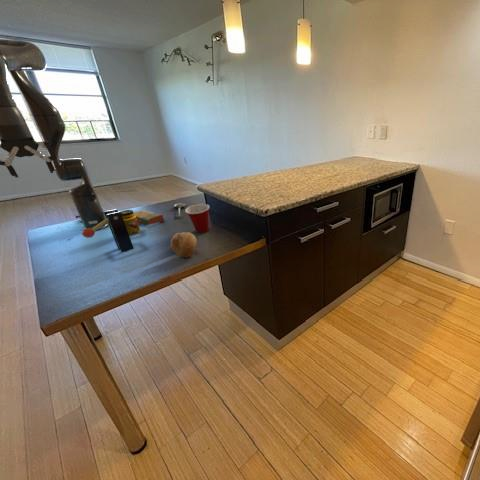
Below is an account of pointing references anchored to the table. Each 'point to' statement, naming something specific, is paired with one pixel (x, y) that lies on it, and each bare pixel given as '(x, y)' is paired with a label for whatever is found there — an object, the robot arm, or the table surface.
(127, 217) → the condiment
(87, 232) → the tap lever
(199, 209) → the plastic cup
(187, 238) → the bread roll
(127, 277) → the table surface
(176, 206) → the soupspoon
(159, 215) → the carton
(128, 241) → the black tall block
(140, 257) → the table surface
